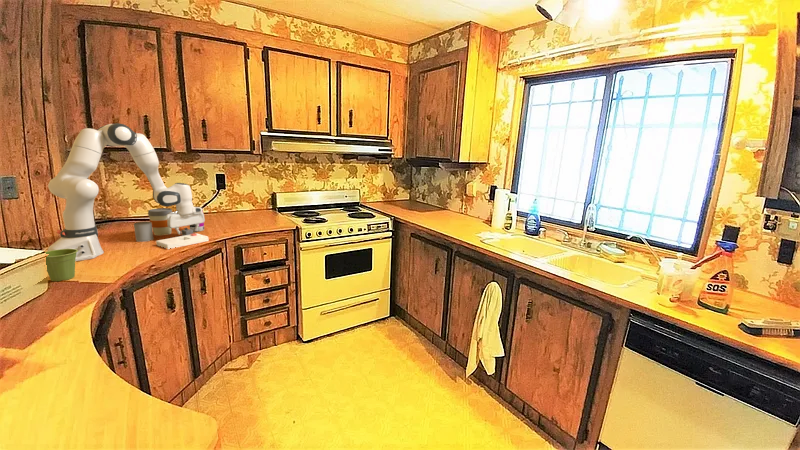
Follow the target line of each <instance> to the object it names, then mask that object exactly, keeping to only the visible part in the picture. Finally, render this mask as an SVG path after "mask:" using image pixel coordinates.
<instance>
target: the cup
mask: <svg viewBox="0 0 800 450" xmlns="http://www.w3.org/2000/svg"><path fill="white" fill-rule="evenodd" d="M133 227H134V228H133V229H134V234H135V241H136V242H138V243H140V242H141V243H143V242H150V240H151V241H153V240H155V238H154V232H153V228H152V223H151V222H150V221H137V222H134V223H133Z"/></svg>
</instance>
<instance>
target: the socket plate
mask: <svg viewBox="0 0 800 450" xmlns="http://www.w3.org/2000/svg"><path fill="white" fill-rule="evenodd" d="M209 240H210V239H209V236H207V235H205V234H200V233H196V232H193V234H190V235H185V236H182V235H180V236H175V237H170V238H165V239H159V240H155V243H156V246H158V247H160V246H161V248H163V247H164V248H163V249H166V248H167V250H170V248H171V249H175V247H176V248H181V247H186V246H190V245H195V244H200V243H204V242H209Z"/></svg>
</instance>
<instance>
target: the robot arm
mask: <svg viewBox="0 0 800 450" xmlns="http://www.w3.org/2000/svg"><path fill="white" fill-rule="evenodd" d="M105 147H125V148H126V149H127V151H128V152H129V154H130V156H131V158H132V159H133V161H134V163H135V164H136V166H137V167H138V169H140V170H141V172H142V173H143V174H144V175H145V176H146V178H147V181H148V182H149V184H150V186H151V188H152V197H153V200H154V202H155V203H157V204H159V205H160V206H163V207H165V208H166V207H167V208H168V207H172V206H175V209H176V211H172V212H169V213H168V214H167V225H168V227H169V228H172V229H175V231H176V232H177V235H182V230H180V228H181V227H186V226H190V225H193V224H195V225H196V226H195V228H194V231H198V227H199V223H204V224H205V221H206V219H205V214H204V211H203V212H202V210H203V207H201V208H199V207H200V206H194V203H193V193H192V192H193V191H192V188H191V186H190V184H187V183H185V182H175V183H174V184H172V185H171V186H169V187H167V186H166V185H165V183H164V181H163V179H162V177H161V174H160V171H159V165H160V161H159V157H158V154H157V152H156V151H155V148H154V147H153V145H152V144H151V141H150V140H149V139H148V138H147V137H146V136H145V134H143V133H137V132H135V131H134V130H132V128H130V127H129V126H127V125H126V124H124V123H119V122H117V123H110V124H106V125H103V126H101V127H99V128H98V129H95V128H92V127H91V128H87V127H86V128H83V129H81V130H80V131H79V133H78V134H77V135H76V137H75V139H74V141H73V143H72V147H70V151H69V155H68V156H67V159H66V161H65V163H64V164H63V166H62V167H61V168H60V170H59V171H58V173H57V174H56V175H55V176H54V177H53V178H51V180H50V181H49V182H48V185H47V188H48V190H49V192H50V193H51V194H52V195H54V196H55V197H58V198H60V199H63V200H64V199H65V208H64V210H63V211H62V219H63V225H64V229H63V230H61V229H57V230H56V233H57V234H58V235H60V238H58V239H57V240H56V241H55V242H53V243H52V244H51V245H50V246H48V247H47V251H52V250H59V249H77V250H78V252H77V253H76V259H75V262H79V261H86V260H91V259H96V258H97V257H99V256H101V255H103V254H104V252H105V251H104V250H103V248H102V246H101V243H100V240H99V238H98V237H99V233H98V228H97V225H96V222H95V216H94V205H95V203H94V202H95V198H97V195H98V194H99V191H100V189H99V185H98V184H97V183H96V182H94V180H91V179H89V177H90V176H91V175H92V174H93V173H94V172H95V171H96V170H97V168H98V166H99V163H100V160H101V157H102V154H103V151H104V149H105Z"/></svg>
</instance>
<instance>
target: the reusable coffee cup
mask: <svg viewBox="0 0 800 450" xmlns="http://www.w3.org/2000/svg"><path fill="white" fill-rule="evenodd" d="M169 212H173V209H172V208H168V207H167V208H166V207H161V208H159V207H158V208H152V209H149V210H148V211H147V216H148V217H149V220H148V222H151V223H152V230H153V236H166V235H171V234H172V229H173V228H169V227H168V225H167V214H168V213H169Z"/></svg>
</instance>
